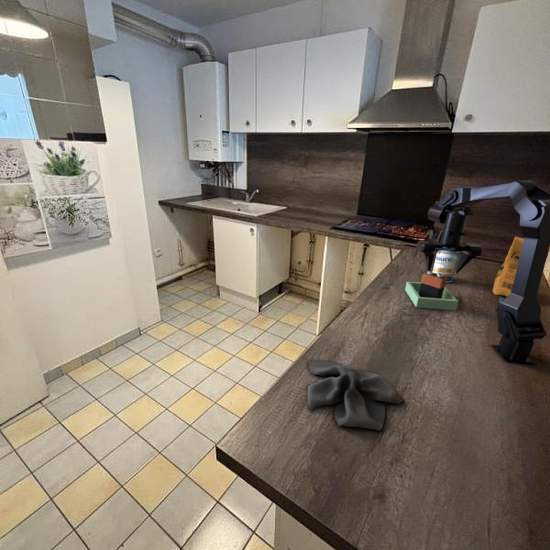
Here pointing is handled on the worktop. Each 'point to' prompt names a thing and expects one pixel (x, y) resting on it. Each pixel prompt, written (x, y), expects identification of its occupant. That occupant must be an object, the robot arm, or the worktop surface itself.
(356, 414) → the cloth
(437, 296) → the battery
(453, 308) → the tray
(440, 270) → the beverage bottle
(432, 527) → the worktop surface
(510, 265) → the coffee package
